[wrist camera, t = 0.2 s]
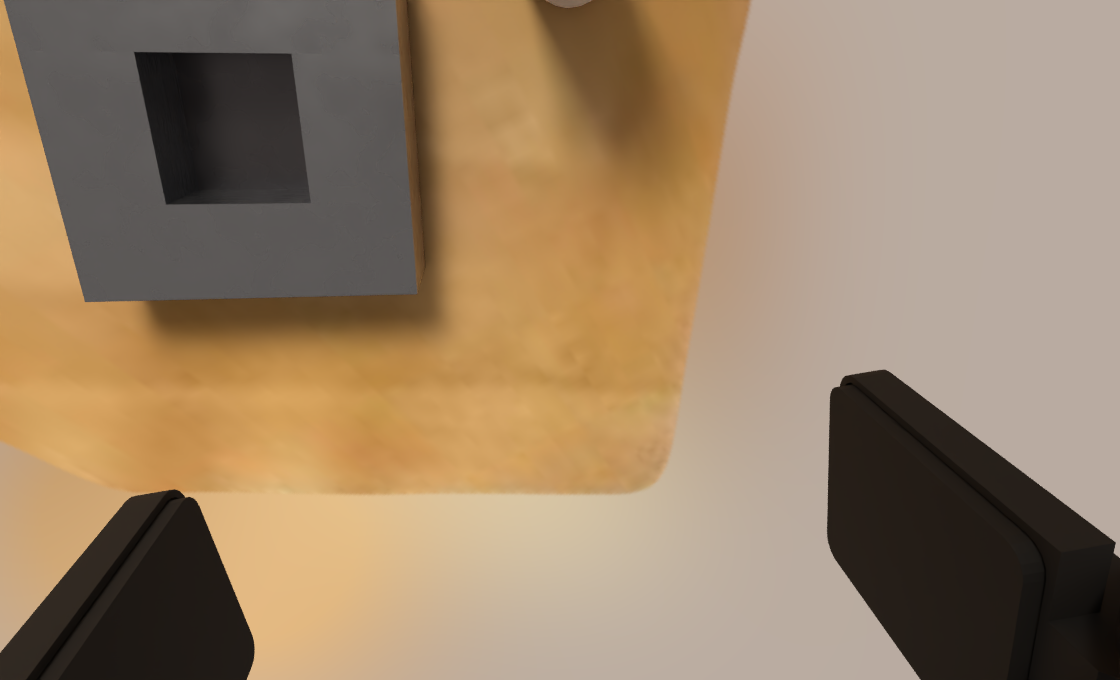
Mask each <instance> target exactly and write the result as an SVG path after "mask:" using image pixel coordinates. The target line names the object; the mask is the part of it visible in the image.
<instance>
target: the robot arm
mask: <svg viewBox="0 0 1120 680" xmlns="http://www.w3.org/2000/svg"><path fill="white" fill-rule="evenodd" d="M828 472H829V473H828V517H827V519H828V521H827V537H828V543H829V546H830V549H831V552H832V554H833V556H834V558H835V560H836V561H837V562H838V564H839V565H840V567H841V568H842V570H843V571H844V572H845V574H846V575H847V576H848V578H849V579H850V581H851V582H852V584H853V585H854V586H855V588H856V589H857V591H858V592H859V593H860V595H861V596H862V598H863V599H864V600H865V602H866V603H867V605H868V606H869V607H870V609H871V610H872V612H873V613H874V614H875V616H876V617H877V619H878V620H879V622H880V623H881V624H882V626H883V627H884V629H885V630H886V631H887V633H888V634H889V636H890V637H891V638H892V640H893V641H894V643H895V644H896V646H897V647H898V648H899V650H900V651H901V652H902V654H903V655H904V657H905V658H906V660H907V661H908V662H909V664H910V665H911V667H912V668H913V669H914V671H915V672H916V674H917V675H918V677H919V678H920V679H921V680H1120V558H1119V557H1118V556H1116V555H1115V554H1114V548H1115V544H1116V543H1115V542H1114V541H1113V540H1112V539H1110V538H1109V537H1108V536H1106V535H1105V534H1103V533H1102V532H1101V531H1100V530H1098V529H1097V528H1095V527H1094V526H1093V525H1092V524H1090V523H1089V522H1088V521H1086V520H1085V519H1084V518H1082V517H1081V516H1080V515H1079V514H1077V513H1076V512H1074V511H1073V510H1072V509H1071V508H1069V507H1068V506H1067V505H1065V504H1064V503H1063V502H1061V501H1060V500H1059V499H1057V498H1056V497H1055V496H1053V495H1052V494H1051V493H1049V492H1048V491H1047V490H1045V489H1044V488H1043V487H1041V486H1040V485H1039V484H1037V483H1036V482H1035V481H1033V480H1032V479H1031V478H1029V477H1028V476H1027V475H1025V474H1024V473H1023V472H1022V471H1020V470H1019V469H1017V468H1016V467H1015V466H1014V465H1012V464H1011V463H1010V462H1008V461H1007V460H1006V459H1004V458H1003V457H1001V456H1000V455H999V454H998V453H996V452H995V451H994V450H992V449H991V448H990V447H988V446H987V445H986V444H984V443H983V442H982V441H980V440H979V439H978V438H976V437H975V436H973V435H972V434H971V433H970V432H968V431H967V430H966V429H964V428H963V427H962V426H960V425H959V424H958V423H957V422H955V421H954V420H953V419H951V418H950V417H949V416H947V415H946V414H945V413H943V412H942V411H941V410H939V409H938V408H936V407H935V406H934V405H933V404H931V403H930V402H929V401H927V400H926V399H925V398H923V397H922V396H921V395H919V394H918V393H917V392H915V391H914V390H913V389H911V388H910V387H909V386H908V385H906V384H905V383H903V382H902V381H901V380H899V379H898V378H897V377H896V376H894V375H893V374H892V373H890V372H889V371H887V370H878V371H871V372H866V373H860V374H854V375H849V376H845V377H844V378H843V379H842V381H841V384H840V387H835V388H834V389H832V391H831V395H830V425H829V471H828ZM253 660H254V640H253V637H252V634H251V631H250V629H249V626H248V624H247V622H246V619H245V617H244V614H243V612H242V609H241V607H240V604H239V602H238V600H237V597H236V595H235V592H234V590H233V588H232V585H231V582H230V580H229V578H228V575H227V573H226V571H225V568H224V565H223V564H222V561H221V558H220V556H219V553H218V551H217V548H216V546H215V544H214V541H213V539H212V536H211V534H210V531H209V529H208V526H207V524H206V522H205V519H204V517H203V514H202V512H201V509H200V507H199V505H198V503H197V501H195V499H193V498H191V497H187V498H185V496H184V495H183V494H182V493H181V492H180V491H178V490H175V489H174V490H168V491H162V492H156V493H150V494H144V495H138V496H134V497H131V498H129V499H128V500H127V501H126V502H125V503H124V504H123V506H122V507H121V508H120V509H119V510H118V512H117V513H116V514H115V515H114V516H113V518H112V519H111V520H110V521H109V522H108V524H107V525H106V526H105V527H104V529H103V530H102V531H101V532H100V533H99V534H98V536H97V537H96V538H95V539H94V541H93V542H92V543H91V544H90V545H89V546H88V548H87V549H86V550H85V551H84V553H83V554H82V555H81V556H80V557H79V559H78V560H77V561H76V562H75V563H74V565H73V566H72V567H71V568H70V569H69V571H68V572H67V573H66V574H65V575H64V577H63V578H62V579H61V580H60V581H59V583H58V584H57V585H56V586H55V587H54V589H53V590H52V591H51V592H50V594H49V595H48V596H47V597H46V598H45V600H44V601H43V602H42V603H41V604H40V606H39V607H38V608H37V609H36V610H35V612H34V613H33V614H32V615H31V616H30V618H29V619H28V620H27V621H26V623H25V624H24V625H23V626H22V627H21V628H20V630H19V631H18V632H17V633H16V635H15V636H14V637H13V638H12V639H11V641H10V642H9V643H8V644H7V645H6V647H5V648H4V649H3V650H2V651H1V653H0V680H247V677H248V675H249V672H250V669H251V667H252V664H253Z"/></svg>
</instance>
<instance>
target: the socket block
mask: <svg viewBox="0 0 1120 680" xmlns="http://www.w3.org/2000/svg"><path fill="white" fill-rule="evenodd" d="M4 3H5V6H6V10H7V14H8V18H9V21H10V25H11V29H12V32H13V36H14V40H15V43H16V47H17V51H18V55H19V58H20V62H21V66H22V69H23V73H24V77H25V81H26V84H27V88H28V92H29V95H30V99H31V103H32V107H33V110H34V114H35V118H36V121H37V125H38V129H39V133H40V136H41V140H42V144H43V147H44V151H45V155H46V158H47V162H48V166H49V170H50V173H51V177H52V181H53V184H54V188H55V192H56V196H57V199H58V203H59V207H60V210H61V214H62V218H63V222H64V225H65V229H66V233H67V236H68V240H69V244H70V248H71V251H72V255H73V259H74V262H75V266H76V270H77V273H78V277H79V281H80V285H81V288H82V292H83V296H84V299H85V302H105V301H147V300H190V299H233V298H275V297H318V296H361V295H403V294H418V290H419V287H420V284H421V280H422V277H423V273H424V270H425V254H424V240H423V225H422V211H421V196H420V182H419V167H418V153H417V138H416V123H415V109H414V94H413V80H412V65H411V51H410V36H409V22H408V7H407V0H4Z"/></svg>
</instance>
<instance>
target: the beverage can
mask: <svg viewBox="0 0 1120 680" xmlns="http://www.w3.org/2000/svg"><path fill="white" fill-rule="evenodd" d="M545 1H547V2H549V3H551V4H553V5H555V6H559V7H564V8H572V7H579V6H582V5H584V4H586V3H588V2H590V1H592V0H545Z"/></svg>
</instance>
